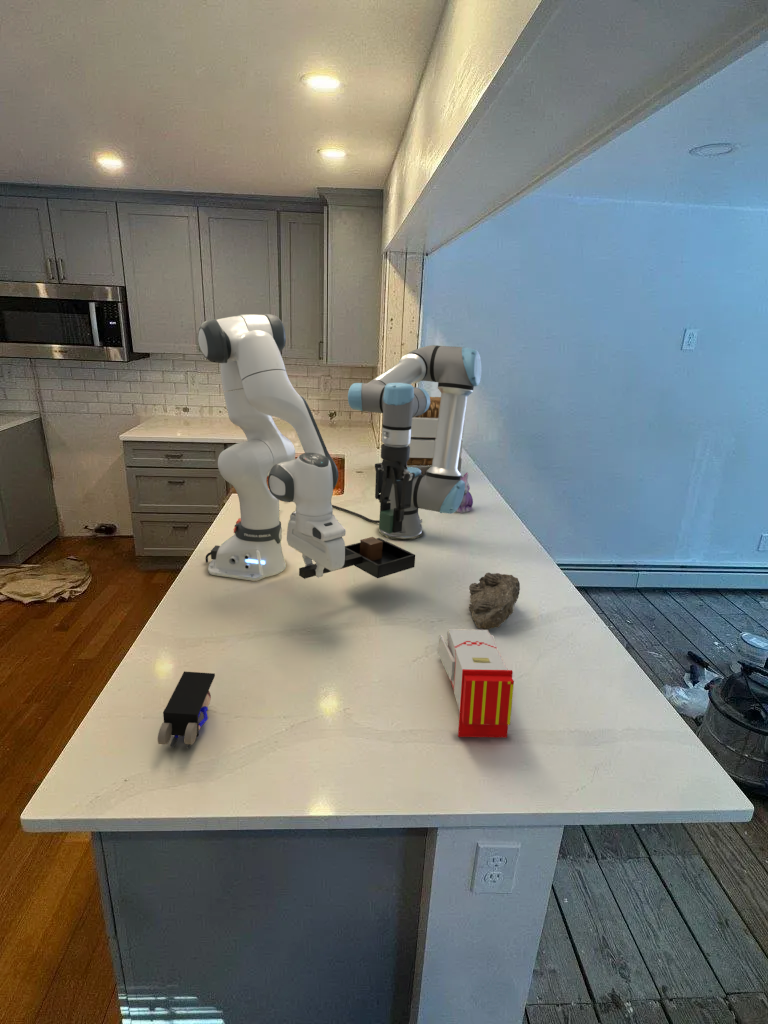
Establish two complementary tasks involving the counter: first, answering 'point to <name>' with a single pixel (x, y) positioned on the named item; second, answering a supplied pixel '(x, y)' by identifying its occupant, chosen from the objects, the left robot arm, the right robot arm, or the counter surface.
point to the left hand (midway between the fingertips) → (314, 573)
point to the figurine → (466, 497)
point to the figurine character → (186, 708)
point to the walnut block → (371, 548)
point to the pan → (388, 564)
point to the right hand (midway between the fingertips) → (390, 528)
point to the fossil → (493, 599)
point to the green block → (386, 520)
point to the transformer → (426, 436)
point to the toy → (478, 682)
